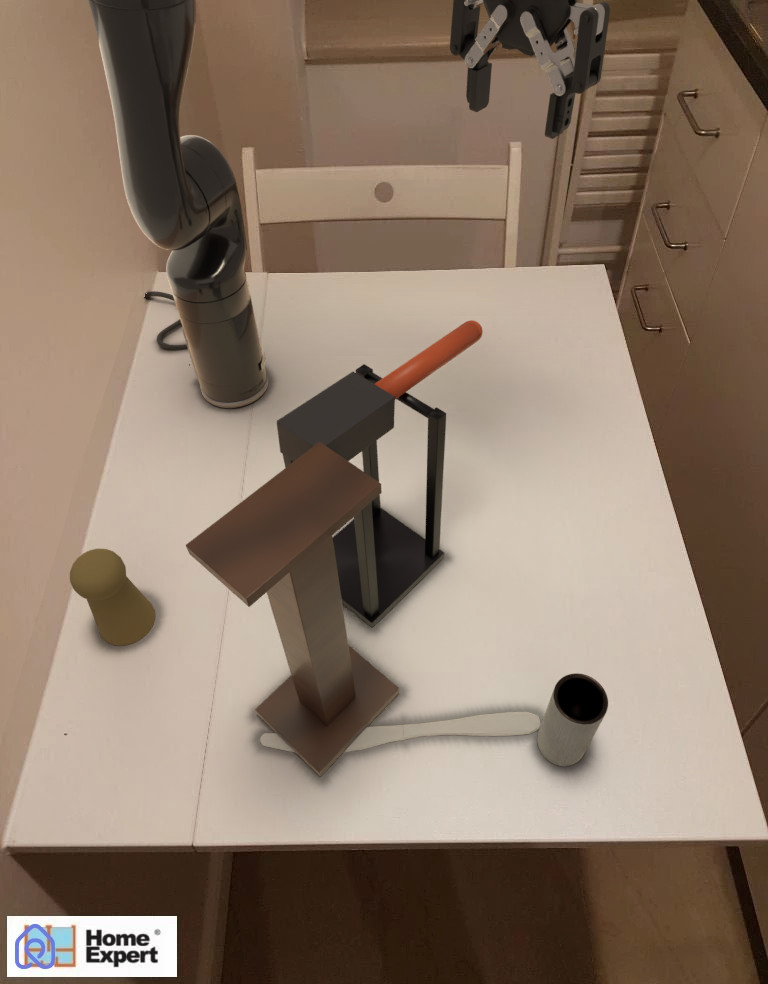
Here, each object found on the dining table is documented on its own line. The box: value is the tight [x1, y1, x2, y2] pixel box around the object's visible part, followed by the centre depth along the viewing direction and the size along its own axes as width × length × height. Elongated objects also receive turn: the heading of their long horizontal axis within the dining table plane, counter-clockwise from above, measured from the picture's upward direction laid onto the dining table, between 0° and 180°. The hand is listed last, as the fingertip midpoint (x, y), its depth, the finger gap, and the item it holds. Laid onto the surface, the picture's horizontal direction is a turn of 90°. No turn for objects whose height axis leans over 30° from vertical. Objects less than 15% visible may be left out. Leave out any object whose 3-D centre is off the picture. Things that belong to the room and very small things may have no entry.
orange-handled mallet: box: [276, 320, 484, 462], centre depth 65 cm, size 5×24×4 cm, turn 137°
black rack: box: [276, 363, 447, 628], centre depth 73 cm, size 11×12×23 cm
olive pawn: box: [69, 548, 156, 647], centre depth 74 cm, size 6×6×11 cm
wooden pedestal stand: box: [185, 442, 400, 777], centre depth 59 cm, size 9×12×31 cm
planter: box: [536, 672, 609, 767], centre depth 64 cm, size 4×4×10 cm
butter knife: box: [259, 711, 541, 753], centre depth 69 cm, size 1×27×3 cm
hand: (515, 121), depth 66 cm, fingers open, 8 cm apart
